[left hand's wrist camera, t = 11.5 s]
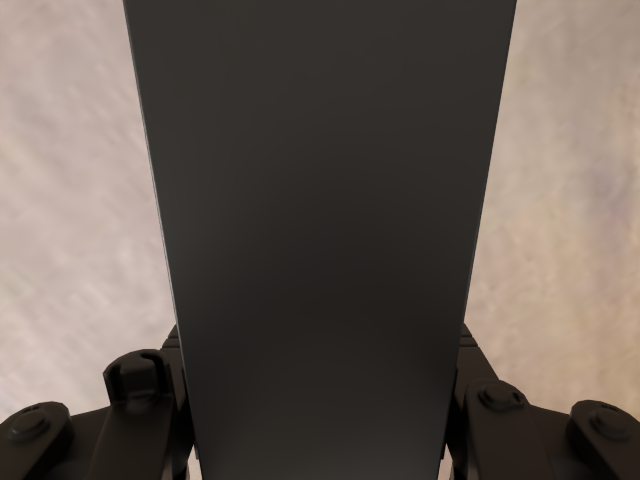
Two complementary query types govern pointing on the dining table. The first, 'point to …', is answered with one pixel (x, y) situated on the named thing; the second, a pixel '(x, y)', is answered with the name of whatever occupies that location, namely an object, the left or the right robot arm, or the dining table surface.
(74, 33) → the dining table surface
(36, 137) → the dining table surface
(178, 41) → the bar
